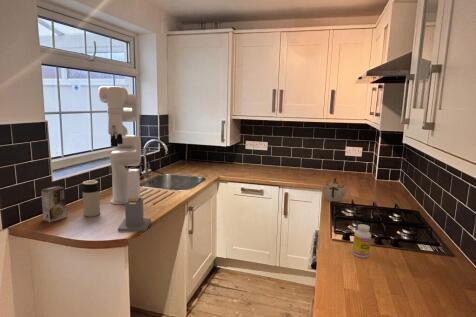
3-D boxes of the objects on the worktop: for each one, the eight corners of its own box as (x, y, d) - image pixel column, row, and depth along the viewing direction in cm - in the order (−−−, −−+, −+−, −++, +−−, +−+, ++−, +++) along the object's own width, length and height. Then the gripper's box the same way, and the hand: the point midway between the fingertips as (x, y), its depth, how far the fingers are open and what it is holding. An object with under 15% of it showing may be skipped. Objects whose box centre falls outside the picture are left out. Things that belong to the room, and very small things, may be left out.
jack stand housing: (124, 221, 162) (123, 196, 160) (150, 221, 164) (150, 196, 161) (117, 231, 149) (116, 204, 147) (146, 231, 151) (145, 204, 148)
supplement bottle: (358, 259, 131) (361, 229, 129) (348, 251, 137) (351, 223, 135) (372, 257, 133) (375, 228, 130) (362, 250, 139) (365, 222, 137)
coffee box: (60, 214, 168) (58, 185, 165) (67, 217, 165) (65, 187, 162) (42, 219, 160) (40, 189, 157) (49, 222, 157) (47, 191, 154)
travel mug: (100, 215, 169) (99, 183, 165) (84, 217, 165) (82, 184, 162) (99, 211, 176) (97, 179, 172) (83, 212, 172) (81, 180, 169)
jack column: (130, 208, 157) (129, 168, 153) (140, 208, 158) (139, 168, 154) (128, 211, 152) (127, 170, 149) (138, 211, 153) (137, 171, 149)
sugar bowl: (323, 194, 222) (325, 174, 219) (346, 197, 217) (348, 176, 214) (319, 202, 204) (321, 180, 202) (343, 206, 199) (346, 183, 196)
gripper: (112, 110, 167) (113, 142, 170) (102, 111, 150) (104, 147, 153) (127, 111, 168) (128, 143, 171) (119, 112, 151) (120, 147, 154)
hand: (116, 145), depth 162 cm, fingers open, 9 cm apart
